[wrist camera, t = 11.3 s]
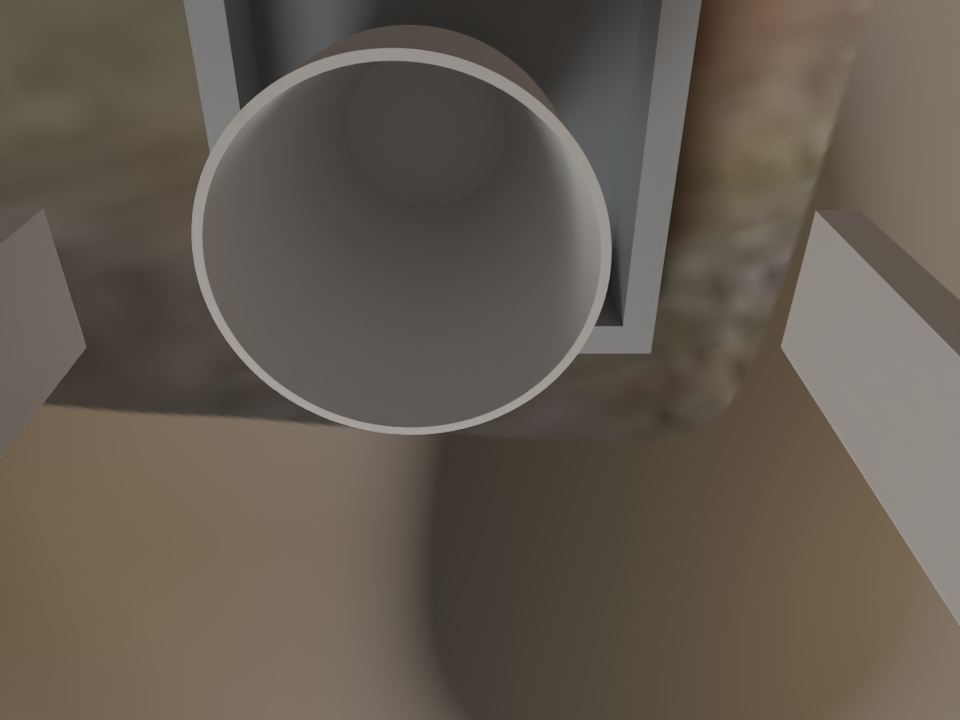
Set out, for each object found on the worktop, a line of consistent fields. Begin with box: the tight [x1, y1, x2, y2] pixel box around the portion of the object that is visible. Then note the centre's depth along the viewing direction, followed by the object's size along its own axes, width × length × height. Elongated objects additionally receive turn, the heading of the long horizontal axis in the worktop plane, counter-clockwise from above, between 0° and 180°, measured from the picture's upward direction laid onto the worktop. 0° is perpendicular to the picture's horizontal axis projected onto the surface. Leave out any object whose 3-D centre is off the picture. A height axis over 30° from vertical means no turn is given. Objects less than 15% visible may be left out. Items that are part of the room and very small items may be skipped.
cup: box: [192, 25, 612, 435], centre depth 19 cm, size 8×8×10 cm
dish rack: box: [183, 0, 702, 353], centre depth 20 cm, size 20×14×6 cm
